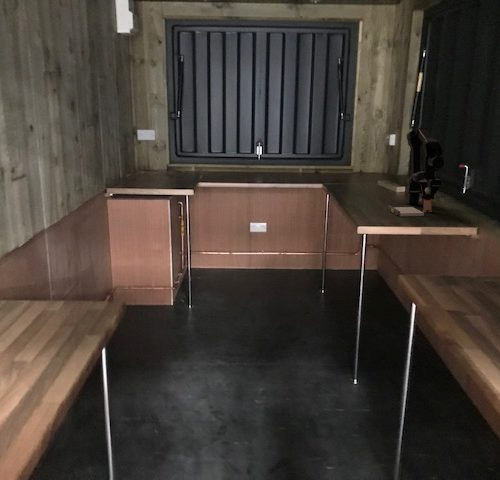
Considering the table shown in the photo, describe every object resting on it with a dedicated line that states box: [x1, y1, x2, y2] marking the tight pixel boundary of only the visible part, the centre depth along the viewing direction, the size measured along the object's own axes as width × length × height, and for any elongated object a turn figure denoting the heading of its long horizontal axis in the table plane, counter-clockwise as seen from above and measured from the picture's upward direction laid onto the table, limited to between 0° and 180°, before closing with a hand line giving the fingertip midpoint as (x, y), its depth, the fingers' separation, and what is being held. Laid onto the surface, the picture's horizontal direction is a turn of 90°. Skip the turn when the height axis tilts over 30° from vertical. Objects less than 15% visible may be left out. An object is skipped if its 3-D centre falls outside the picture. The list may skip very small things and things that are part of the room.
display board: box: [387, 205, 425, 217], centre depth 256 cm, size 15×13×2 cm
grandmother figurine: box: [419, 187, 436, 213], centre depth 258 cm, size 8×4×13 cm, turn 92°
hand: (427, 197), depth 258 cm, fingers open, 9 cm apart
